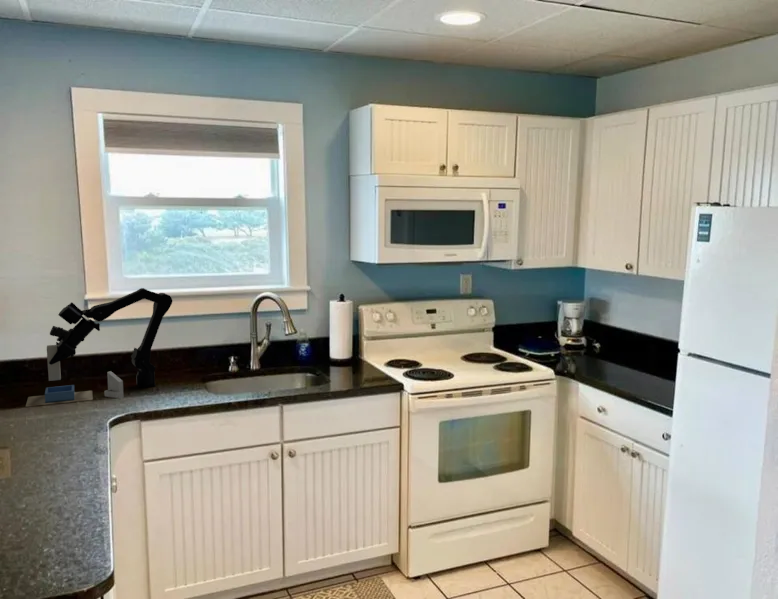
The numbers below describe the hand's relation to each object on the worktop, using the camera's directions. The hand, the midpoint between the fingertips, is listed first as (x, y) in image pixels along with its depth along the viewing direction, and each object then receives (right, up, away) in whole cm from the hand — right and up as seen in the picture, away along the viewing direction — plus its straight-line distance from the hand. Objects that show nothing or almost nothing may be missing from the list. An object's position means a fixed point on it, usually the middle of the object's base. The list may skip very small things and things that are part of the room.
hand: (49, 362), depth 246 cm
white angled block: (+24, -14, +1) cm, 28 cm away
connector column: (+1, -6, +2) cm, 7 cm away
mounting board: (+6, -14, -3) cm, 16 cm away
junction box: (+6, -13, -3) cm, 15 cm away
